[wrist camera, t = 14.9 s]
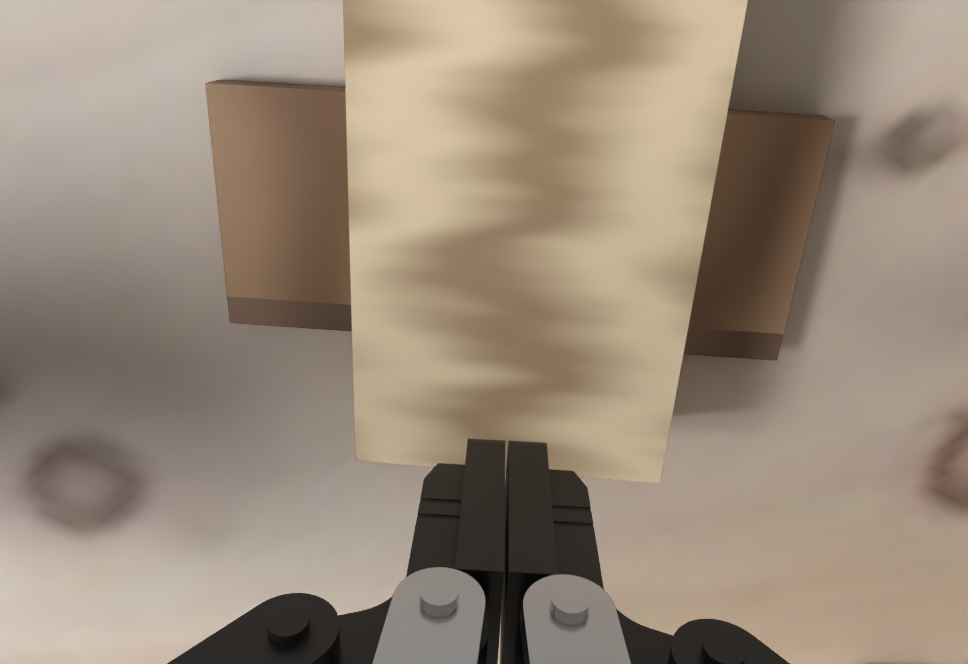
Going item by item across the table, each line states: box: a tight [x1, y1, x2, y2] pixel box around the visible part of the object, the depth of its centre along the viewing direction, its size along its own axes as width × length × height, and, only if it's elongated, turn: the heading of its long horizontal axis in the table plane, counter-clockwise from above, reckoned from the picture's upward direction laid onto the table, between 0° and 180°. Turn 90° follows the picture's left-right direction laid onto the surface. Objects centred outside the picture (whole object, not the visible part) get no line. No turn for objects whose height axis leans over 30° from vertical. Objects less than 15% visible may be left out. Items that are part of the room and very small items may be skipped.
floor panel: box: [205, 80, 835, 360], centre depth 24 cm, size 19×8×1 cm, turn 87°
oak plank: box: [343, 0, 748, 483], centre depth 22 cm, size 10×3×16 cm
